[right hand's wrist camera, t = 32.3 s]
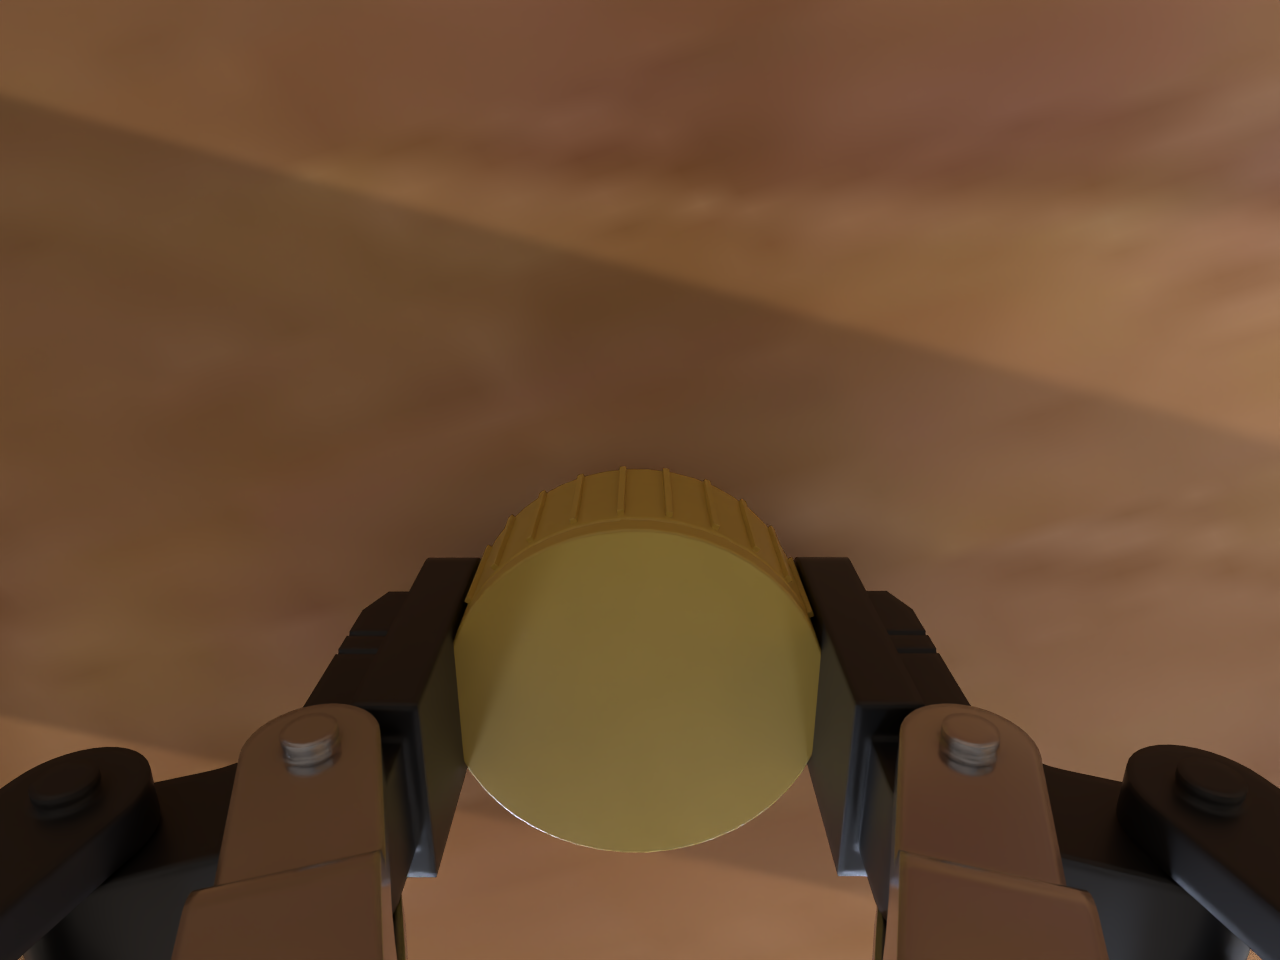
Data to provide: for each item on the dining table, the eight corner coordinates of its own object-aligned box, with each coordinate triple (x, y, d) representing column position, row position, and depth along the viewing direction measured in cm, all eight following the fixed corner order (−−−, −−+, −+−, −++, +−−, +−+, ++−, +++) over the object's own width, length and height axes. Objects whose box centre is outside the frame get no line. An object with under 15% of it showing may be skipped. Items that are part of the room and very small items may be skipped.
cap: (539, 787, 13) (523, 893, 11) (418, 521, 12) (374, 592, 10) (836, 707, 13) (870, 805, 11) (751, 418, 11) (774, 471, 9)
